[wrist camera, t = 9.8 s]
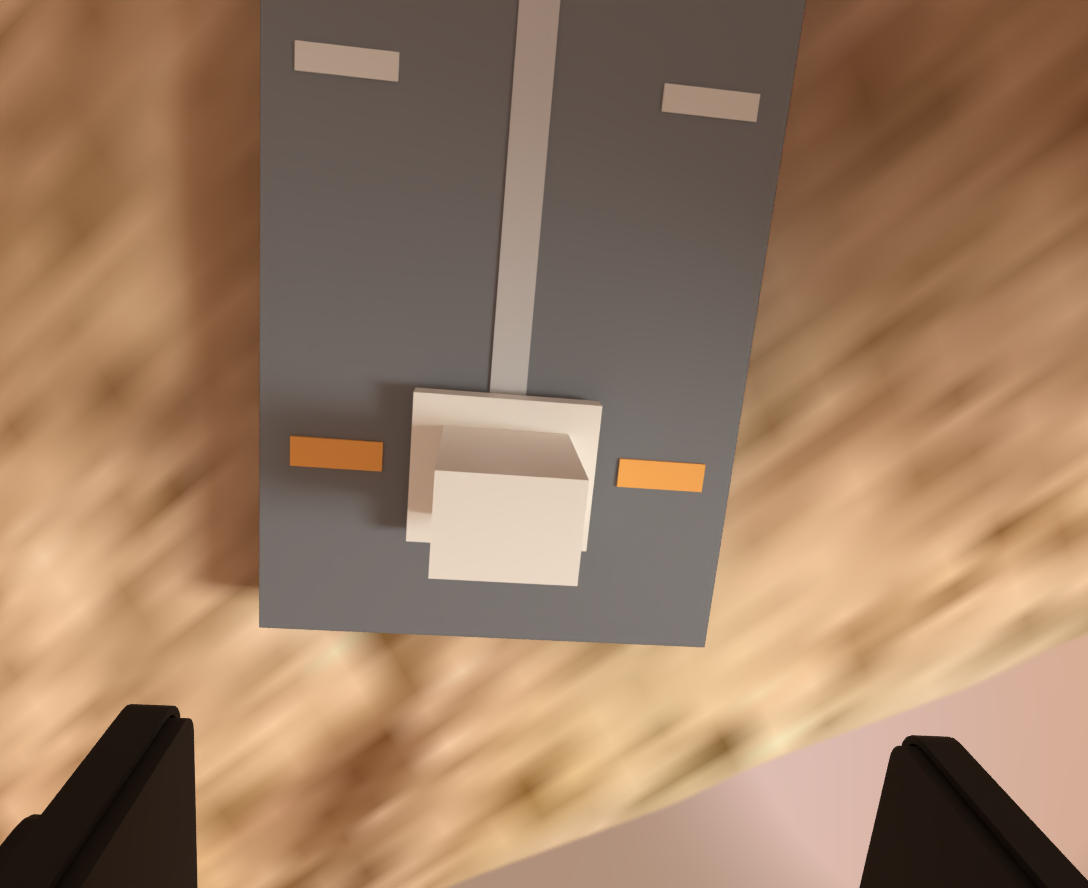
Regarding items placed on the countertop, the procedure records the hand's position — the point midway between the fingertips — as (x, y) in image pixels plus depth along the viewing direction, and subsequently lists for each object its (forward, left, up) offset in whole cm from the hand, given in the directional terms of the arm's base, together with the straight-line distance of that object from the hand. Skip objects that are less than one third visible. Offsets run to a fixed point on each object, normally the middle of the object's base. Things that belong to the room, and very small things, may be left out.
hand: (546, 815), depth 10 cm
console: (0, -6, -20) cm, 21 cm away
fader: (0, 0, -16) cm, 16 cm away
